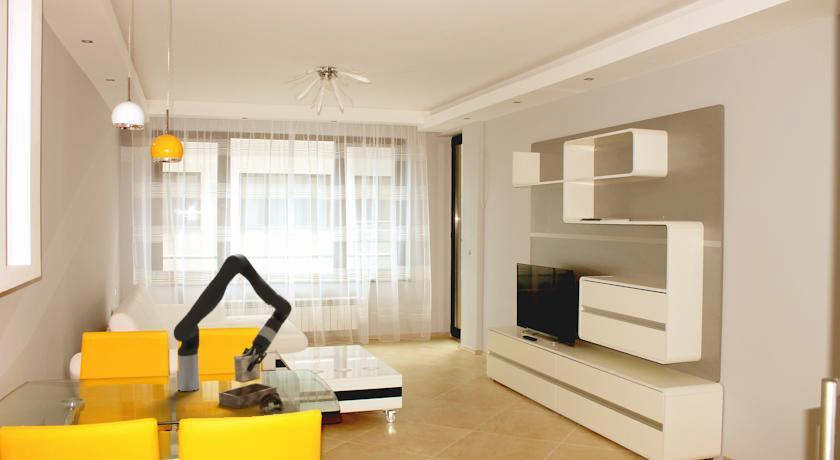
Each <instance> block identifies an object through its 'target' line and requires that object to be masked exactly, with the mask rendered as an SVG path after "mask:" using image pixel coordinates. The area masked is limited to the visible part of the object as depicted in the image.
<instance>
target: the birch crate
mask: <svg viewBox="0 0 840 460" xmlns="http://www.w3.org/2000/svg"><path fill="white" fill-rule="evenodd" d="M242 354H243V353H242ZM242 354H240V355H235V356H233V361H234V380H235V381H234V382H238V383H242V384H244V383H248V382H252V381H256V380H259V379H261V368H260V364H257V365H255V366H254V368H253V369H252V370H251V372H249V371H248V370H247V368H248V366H249V364H250V363H251V362H252V360H253V358H254V355H252V356H249V355H248V356H247V357H246V355H247V354H243V355H242ZM255 356H256V357H258V356H259V354H258V355H255ZM255 360H256V359H255Z"/></svg>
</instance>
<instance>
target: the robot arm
mask: <svg viewBox="0 0 840 460" xmlns="http://www.w3.org/2000/svg"><path fill="white" fill-rule="evenodd" d="M238 274H240V275H241V276H242V277H243V278H244V279H246V281H247V282H249V284H250V285H251V287H252V289H253V291H254V292H255V294H256V295H257V296H258V297H259V298H260V299H261V300H262V302H264V303H265V304H266V305H268V306H271V307H272V308H274V311H273V313H272V314H271V316H270V317H269V318H268V319H267V320H266V322H264V325H263V326H262V327H261V329H260V330H259V331H258V333H257V334H256V336H255V337H254V338H253V340H252V341H251V342H252V346H251V347H250V348H248V347H245V348H244V351H243V352H242V354H241V355H243V354H247V355H246V357H247V356H248V355H249V356H252V355H254V358H253V360H252V362H251V363H250V364H249V366H248V368H247V370H248V371H249V372H251V370H252V369H253V368H254V366H255V365H257V364H259V365H260V364H261V363H262V361H264V359H265V358H266V357H267V355H268V352H267V350H268V349H269V348H270V346H271V344H272V343H273V341H274V340H275V337H276V336H277V334H278V332H279V331H280V329H281V327H282V325H284V323H285V321H286V320H287V319H288V318H289V316H290V314H291V312H292V311H293V310H292V304H291V302H289V301H288V300H287V299H286V298H285V297H283V296H281V295H280V294H278V293H277V291H276V290H274V289H273V287H271V286H270V285H269V284H268V283H267V282H266V281H265V279H264V278H262V276H261V275H260V274H259V272H258V271H257V270H256V269H255V267H254V266H253V264H252V263H251V262H250V260H249V259H248V258H247V256H245V255H244V254H241V253H236V254H233V255H232V254H231V255H229V256H228V257H227V258H226V259H225V260H224V261H223V263H222V265H221V267H220V269H218V272H217V273H216V275H215V276H214V277H213V279H212V280H211V281H210V282H209V283H208V285H207V286H206V287H205V288H204V290H203V291H202V292H201V294H200V295H199V297H198V298H197V299H196V301H195V302H194V304H192V307H191V308H190V310H189V311H188V312H187V314H186V315H184V317H183V318H182V319H180V321H179V322H178V323H177V324H176V326H175V327H174V329H173V337H174V339H175V340H176V341H177V342H181V344H180V346H179V347H178V349H177V364H178V368H177V369H178V370H177V371H176V383H177V385H176V386H177V391H178V390H180V391H179V392H182V391H189V392H194V391H193V390H195V391H198V390H199V389H200V372H199V370H200V369H199V368H200V367H199V348H200V328H199V324H200V323H201V321H203V320H204V318H206V317H207V316H208V315H210V314H211V313H212V312H213V311H214V310H215V309H216V307H217V306H218V305H219V304H220V302H221V301H222V300H223V297H224V296H225V293H226V290H227V289H228V288H227V287H228V285H229V284H230V283H231V282H232V280H233V279H234V278H235V277H236V276H237V275H238ZM258 354H259V356H258V357H256V356H255V355H258ZM255 359H256V360H255ZM197 389H198V390H197Z"/></svg>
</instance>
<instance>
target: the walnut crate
mask: <svg viewBox="0 0 840 460" xmlns="http://www.w3.org/2000/svg"><path fill="white" fill-rule="evenodd" d="M270 392H272V393H275V392H277V393H278V391H277V386H274V385H270V384H269V385H268V384H264V383H259V382H253V383H250V384H246V385H241V386H238V387H234V388H231V389H227V390H223V391H220V392H218V399H219V403H218V404H219V405H223V406H225V407H230V408H234V409H239V410H240V409H244V408H245V409H246V408H248V407H250V406H251V407H252V406H254V405H257V404H258V405H259V403H258V402H259V401H260V402H261V400H260V399H261V398H262V397H263V396H265V395H266V394H268V393H270ZM267 399H268V398H267ZM267 399H266V400H267ZM264 401H265V400H264Z"/></svg>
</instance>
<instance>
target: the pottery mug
mask: <svg viewBox="0 0 840 460" xmlns="http://www.w3.org/2000/svg"><path fill="white" fill-rule="evenodd" d="M267 398H268V399H267ZM266 399H267V400H266ZM260 400H261V402H260V401H259V402H258V405H259V406H258V407H259V410H260V411H262V410H263V409H265V408H269V407H270V404H273V405H274V406H279V408H280V410H281V411H283V410H284V408H285V407H284V403H283V400H282V399H281V397H280V394H279V393H278V391H277V392H275V393H272V392H270V393H268V394H266V395H265V396H263V397H262V398H261V399H260ZM264 400H265V401H264Z"/></svg>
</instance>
